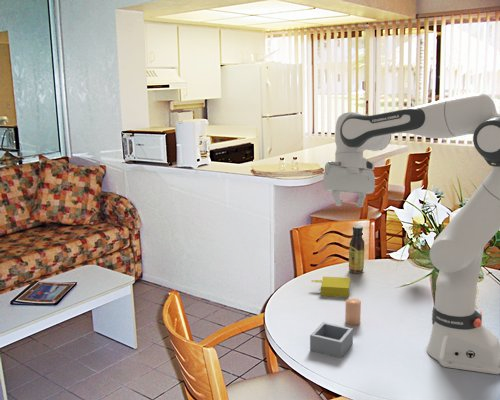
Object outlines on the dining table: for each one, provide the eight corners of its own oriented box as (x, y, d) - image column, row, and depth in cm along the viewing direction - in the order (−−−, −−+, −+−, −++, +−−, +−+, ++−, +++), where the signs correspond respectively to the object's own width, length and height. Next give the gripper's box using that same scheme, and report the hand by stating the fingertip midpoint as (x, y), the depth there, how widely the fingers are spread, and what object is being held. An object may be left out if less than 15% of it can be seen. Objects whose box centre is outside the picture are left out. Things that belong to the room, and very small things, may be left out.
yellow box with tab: (313, 265, 220) (351, 266, 217) (313, 283, 221) (350, 285, 218) (309, 279, 205) (350, 281, 202) (309, 298, 207) (349, 301, 204)
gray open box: (352, 343, 171) (353, 328, 170) (341, 357, 163) (341, 342, 162) (322, 336, 176) (322, 322, 175) (310, 350, 168) (310, 335, 167)
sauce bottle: (346, 269, 234) (347, 224, 230) (361, 268, 235) (362, 223, 231) (351, 274, 228) (352, 228, 224) (365, 273, 229) (367, 227, 224)
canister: (362, 320, 187) (362, 300, 185) (357, 326, 182) (357, 305, 181) (348, 317, 189) (348, 297, 187) (343, 323, 185) (343, 302, 183)
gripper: (332, 159, 168) (332, 204, 167) (378, 165, 180) (378, 207, 179) (318, 161, 173) (318, 205, 172) (363, 167, 185) (363, 208, 184)
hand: (349, 206), depth 176 cm, fingers open, 8 cm apart
